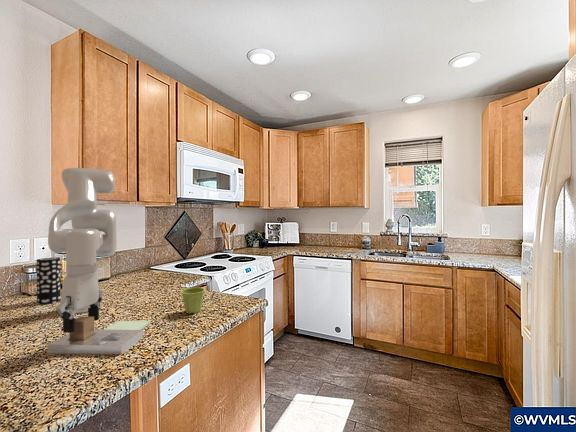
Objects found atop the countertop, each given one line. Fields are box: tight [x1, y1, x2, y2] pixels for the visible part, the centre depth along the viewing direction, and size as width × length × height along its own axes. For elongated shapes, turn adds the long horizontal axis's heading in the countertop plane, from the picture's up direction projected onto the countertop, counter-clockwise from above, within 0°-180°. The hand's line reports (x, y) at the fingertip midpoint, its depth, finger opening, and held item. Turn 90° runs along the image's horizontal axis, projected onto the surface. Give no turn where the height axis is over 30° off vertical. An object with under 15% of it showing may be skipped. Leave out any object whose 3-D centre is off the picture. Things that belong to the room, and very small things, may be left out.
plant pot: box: [180, 287, 206, 314], centre depth 117 cm, size 9×9×9 cm
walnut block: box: [68, 315, 95, 341], centre depth 87 cm, size 4×4×8 cm
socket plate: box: [47, 328, 144, 355], centre depth 87 cm, size 22×11×2 cm, turn 88°
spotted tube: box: [36, 257, 61, 306], centre depth 131 cm, size 8×8×20 cm
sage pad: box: [103, 320, 151, 330], centre depth 100 cm, size 12×9×1 cm
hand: (82, 325), depth 87 cm, fingers open, 9 cm apart
